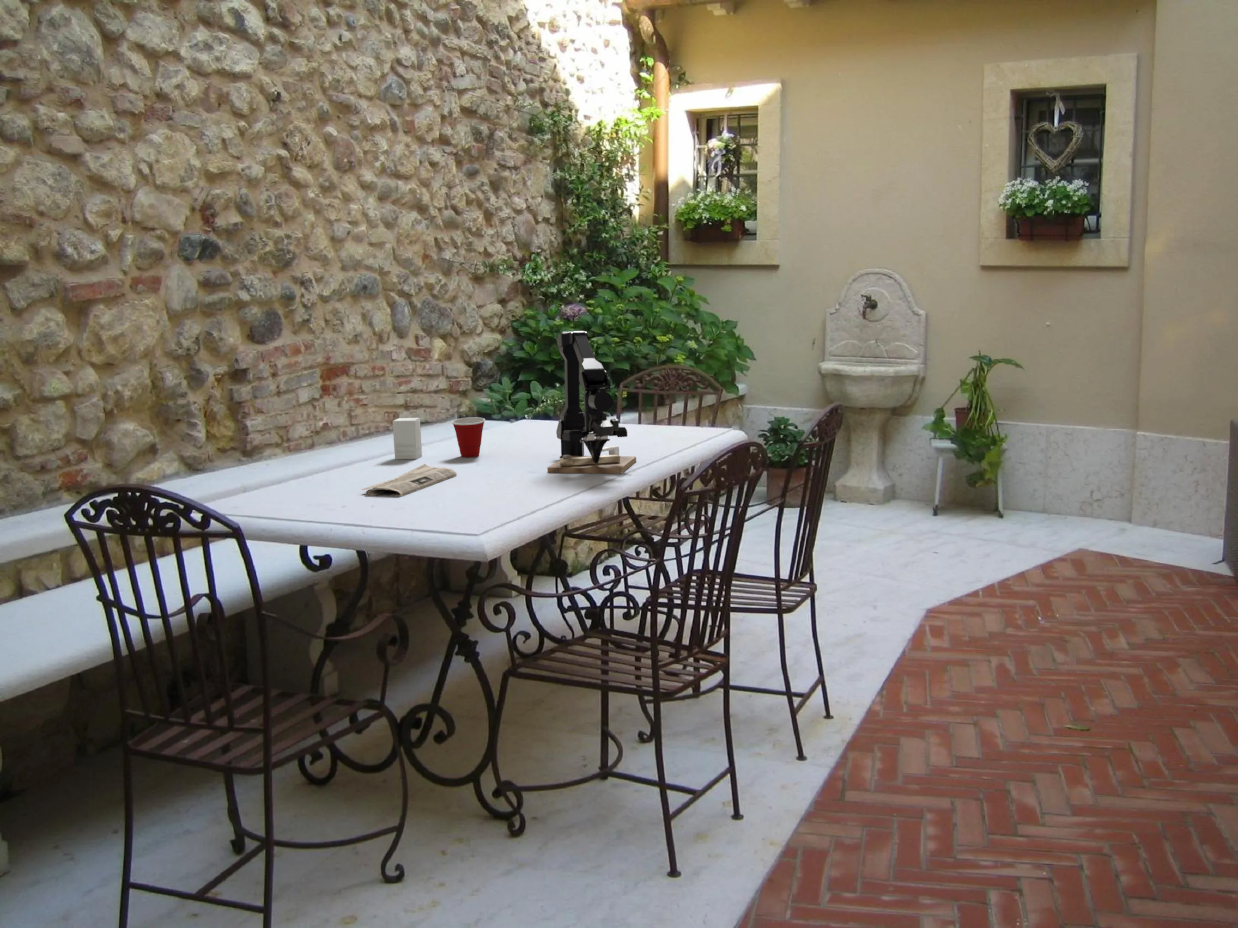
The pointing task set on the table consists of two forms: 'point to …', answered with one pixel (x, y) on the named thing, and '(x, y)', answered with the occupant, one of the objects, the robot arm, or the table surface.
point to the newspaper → (412, 480)
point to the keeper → (611, 450)
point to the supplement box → (407, 438)
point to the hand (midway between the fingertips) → (596, 462)
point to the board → (594, 466)
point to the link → (587, 460)
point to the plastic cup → (469, 435)
